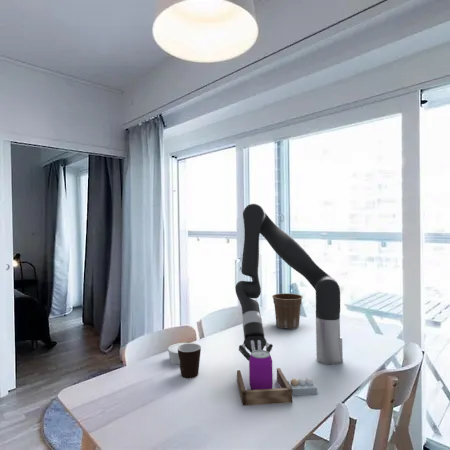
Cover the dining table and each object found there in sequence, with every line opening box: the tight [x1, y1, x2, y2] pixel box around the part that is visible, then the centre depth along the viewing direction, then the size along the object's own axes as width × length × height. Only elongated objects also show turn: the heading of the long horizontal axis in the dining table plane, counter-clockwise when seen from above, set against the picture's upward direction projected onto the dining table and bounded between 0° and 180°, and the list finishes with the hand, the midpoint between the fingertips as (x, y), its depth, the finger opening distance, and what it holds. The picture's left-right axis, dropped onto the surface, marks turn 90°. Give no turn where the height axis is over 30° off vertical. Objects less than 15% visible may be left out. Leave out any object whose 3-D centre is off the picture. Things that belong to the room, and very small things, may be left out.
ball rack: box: [286, 377, 318, 396], centre depth 107 cm, size 8×6×4 cm
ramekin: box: [167, 342, 188, 366], centre depth 133 cm, size 11×11×5 cm
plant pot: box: [271, 292, 303, 330], centre depth 176 cm, size 16×16×16 cm
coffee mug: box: [178, 342, 202, 380], centre depth 121 cm, size 12×9×10 cm
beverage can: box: [248, 349, 274, 390], centre depth 108 cm, size 8×8×12 cm
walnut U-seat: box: [236, 367, 293, 406], centre depth 107 cm, size 15×15×4 cm
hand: (258, 372), depth 112 cm, fingers closed
